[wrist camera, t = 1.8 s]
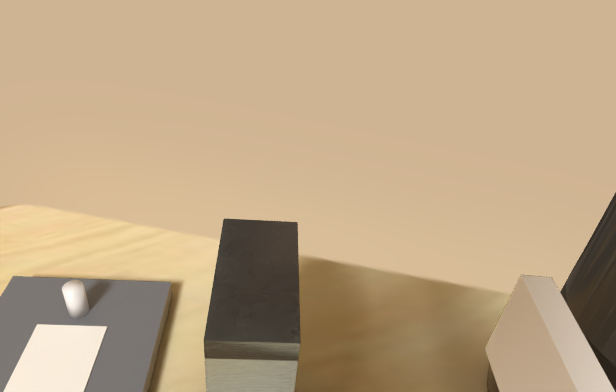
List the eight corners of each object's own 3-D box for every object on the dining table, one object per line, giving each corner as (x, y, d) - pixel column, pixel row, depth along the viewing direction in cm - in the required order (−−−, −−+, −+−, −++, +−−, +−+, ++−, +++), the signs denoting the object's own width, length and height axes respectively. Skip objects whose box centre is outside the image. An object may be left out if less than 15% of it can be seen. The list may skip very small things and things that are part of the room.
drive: (282, 373, 36) (297, 222, 27) (281, 494, 29) (300, 343, 21) (225, 372, 35) (223, 218, 27) (211, 493, 29) (203, 340, 21)
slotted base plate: (172, 295, 41) (168, 259, 38) (108, 554, 26) (95, 522, 24) (17, 289, 40) (4, 252, 37) (-138, 555, 25) (-176, 522, 23)
